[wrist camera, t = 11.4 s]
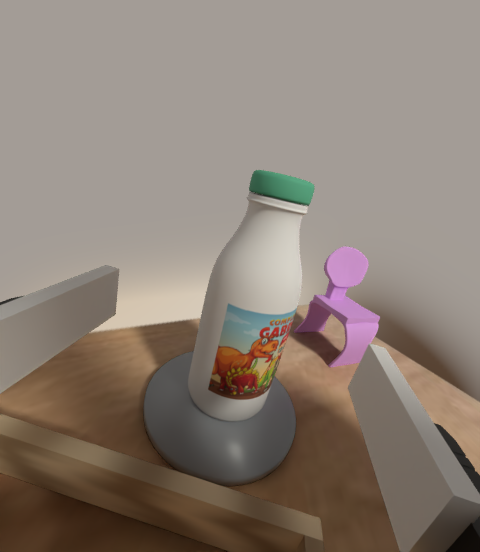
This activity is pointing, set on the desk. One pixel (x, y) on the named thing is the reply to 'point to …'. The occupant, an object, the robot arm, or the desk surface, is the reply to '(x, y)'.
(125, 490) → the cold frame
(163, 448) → the pad
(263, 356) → the milk bottle
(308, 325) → the toy chair
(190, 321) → the desk surface
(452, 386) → the desk surface
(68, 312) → the robot arm
